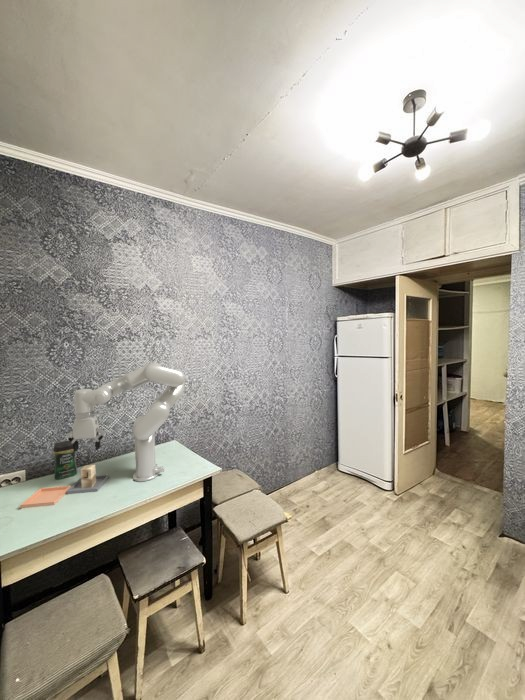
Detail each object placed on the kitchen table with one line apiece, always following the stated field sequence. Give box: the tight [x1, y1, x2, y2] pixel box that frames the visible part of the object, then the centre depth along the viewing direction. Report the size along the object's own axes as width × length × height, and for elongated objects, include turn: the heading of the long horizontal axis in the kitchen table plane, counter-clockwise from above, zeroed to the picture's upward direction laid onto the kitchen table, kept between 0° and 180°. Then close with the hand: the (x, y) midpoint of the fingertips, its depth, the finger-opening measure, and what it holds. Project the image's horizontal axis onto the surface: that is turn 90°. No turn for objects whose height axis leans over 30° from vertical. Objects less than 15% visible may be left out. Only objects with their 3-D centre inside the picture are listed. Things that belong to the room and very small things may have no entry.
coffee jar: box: [53, 440, 78, 481], centre depth 144 cm, size 10×8×19 cm
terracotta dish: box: [19, 485, 72, 510], centre depth 124 cm, size 13×13×2 cm
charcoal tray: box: [66, 474, 110, 495], centre depth 134 cm, size 13×13×2 cm
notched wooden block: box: [80, 464, 97, 488], centre depth 134 cm, size 4×5×9 cm
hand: (87, 449), depth 133 cm, fingers open, 9 cm apart
